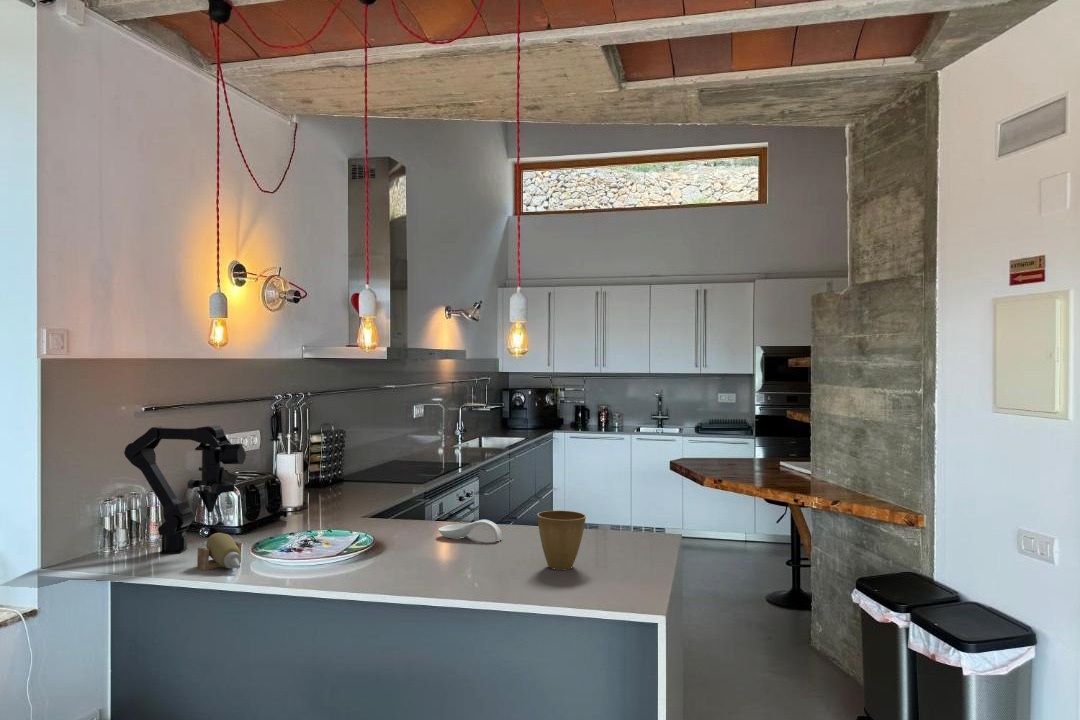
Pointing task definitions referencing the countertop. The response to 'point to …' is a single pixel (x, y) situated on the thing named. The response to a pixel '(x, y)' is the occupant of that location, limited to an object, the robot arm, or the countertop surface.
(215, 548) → the squeeze bottle
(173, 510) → the robot arm
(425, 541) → the countertop surface
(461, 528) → the spoon rest
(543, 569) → the countertop surface
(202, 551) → the u rest
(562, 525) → the plant pot
